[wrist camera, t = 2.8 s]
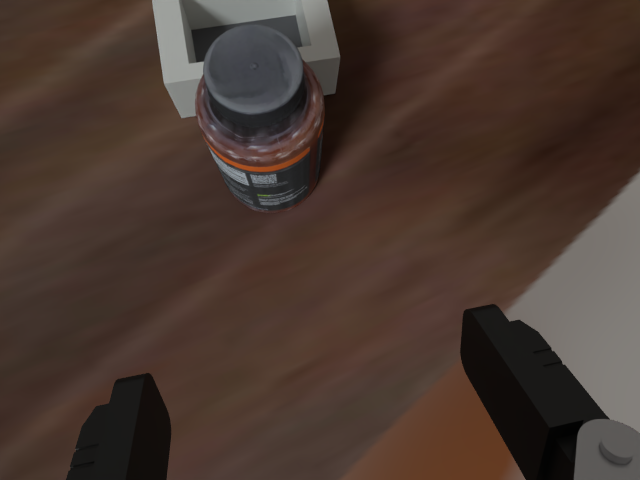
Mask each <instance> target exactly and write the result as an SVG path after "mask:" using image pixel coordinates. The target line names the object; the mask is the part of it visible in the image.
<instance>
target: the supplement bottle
mask: <svg viewBox="0 0 640 480" xmlns="http://www.w3.org/2000/svg"><path fill="white" fill-rule="evenodd" d="M195 96H196V98H195V112H196V118H197V121H198V125H199V128H200V130H201V132H202V134H203V136H204V139H205V141H206V143H207V145H208V147H209V149H210V151H211V153H212V155H213V157H214V160H215V162H216V164H217V166H218V168H219V170H220V172H221V174H222V176H223V178H224V180H225V183H226V185H227V187H228V188H229V190H230V191H231V192H232V194H233V195H234V196H235V198H236V199H237V200H238V201H239V202H241V203H242V204H244V205H245V206H247V207H248V208H250V209H253V210H255V211H260V212H264V213H279V212H283V211H287V210H290V209H292V208H294V207H296V206H298V205H299V204H301V203H302V202H303V201H304V200H305V199H306V198H307V197H308V196H309V195H310V194H311V192H312V191H313V189H314V187H315V185H316V183H317V180H318V176H319V171H320V162H321V151H322V139H323V129H324V115H325V103H324V95H323V91H322V87H321V85H320V82H319V80H318V78H317V76H316V74H315V73H314V71H313V70H312V69H311V68H310V66H309V65H308V64H307V63H306V62H305V61H304V60H303V59H302V57H301V54H300V52H299V50H298V48H297V47H296V45H295V44H294V43H293V41H292V40H291V39H290V38H289V37H288V36H287V35H285V34H284V33H282V32H281V31H279V30H277V29H275V28H273V27H270V26H266V25H260V24H247V25H241V26H237V27H234V28H232V29H230V30H228V31H226V32H225V33H223V34H221V35H220V36H219V37H218V38H217V39H216V40H215V41H214V42H213V43H212V45H211V46H210V48H209V50H208V52H207V53H206V56H205V59H204V65H203V75H202V77H201V79H200V82H199V84H198V87H197V92H196V95H195Z"/></svg>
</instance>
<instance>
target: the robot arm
mask: <svg viewBox="0 0 640 480" xmlns="http://www.w3.org/2000/svg"><path fill="white" fill-rule="evenodd" d="M460 353H461V360H462V364H463V367H464V370H465V372H466V374H467V376H468V378H469V380H470V382H471V383H472V385H473V387H474V389H475V390H476V392H477V394H478V396H479V398H480V399H481V401H482V403H483V405H484V407H485V408H486V410H487V412H488V413H489V415H490V417H491V419H492V420H493V422H494V424H495V426H496V428H497V429H498V431H499V433H500V435H501V437H502V438H503V440H504V442H505V444H506V445H507V447H508V449H509V451H510V452H511V454H512V456H513V458H514V460H515V461H516V463H517V465H518V467H519V468H520V470H521V472H522V474H523V476H524V477H525V479H526V480H640V433H639V432H637V431H636V430H634V429H633V428H631V427H630V426H627V425H625V424H623V423H620V422H617V421H614V420H610V419H609V418H608V417H607V416H606V415H605V413H604V412H603V411H602V410H601V409H600V407H599V406H598V405H597V404H596V403H595V401H594V400H593V399H592V398H591V396H590V395H589V394H588V393H587V391H586V390H585V389H584V388H583V386H582V385H581V384H580V383H579V382H578V380H577V379H576V378H575V377H574V376H573V374H572V373H571V372H570V370H569V369H568V368H567V367H566V366H565V365H563V364H562V361H561V359H560V358H559V357H558V356H557V354H556V353H555V352H554V351H552V350H551V347H550V346H549V345H548V344H547V342H546V341H545V340H544V339H543V337H542V336H541V335H540V334H539V332H537V331H536V330H534V329H533V328H531V327H530V326H528V325H527V324H525V323H524V322H522V321H520V320H516V321H511V322H509V320H508V319H507V318H506V316H505V315H504V314H503V312H502V311H501V310H500V309H499V307H498V306H497V305H495V304H491V305H486V306H481V307H476V308H471V309H466V310H465V311H464V313H463V323H462V336H461V349H460ZM170 442H171V423H170V417H169V414H168V411H167V408H166V406H165V404H164V402H163V399H162V397H161V395H160V393H159V390H158V388H157V386H156V384H155V381H154V379H153V377H152V375H151V374H150V373H146V374H141V375H136V376H131V377H126V378H121V379H117V380H116V381H115V383H114V386H113V390H112V394H111V398H110V402H109V404H105V405H100V406H96V407H95V409H94V410H93V412H92V413H91V415H90V416H89V417H88V419H87V420H86V422H85V423H84V424H83V426H82V428H81V431H80V435H79V438H78V441H77V445H76V448H75V449H76V452H75V453H74V455H73V458H72V462H71V465H70V468H71V470H70V471H69V472H68V475H67V478H66V480H166V478H167V469H168V460H169V451H170Z"/></svg>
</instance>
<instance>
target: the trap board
mask: <svg viewBox="0 0 640 480" xmlns="http://www.w3.org/2000/svg"><path fill="white" fill-rule="evenodd" d="M152 3H153V10H154V17H155V24H156V31H157V38H158V45H159V52H160V59H161V66H162V73H163V80H164V85H165V87H166V88H167V90H168V92H169V94H170V96H171V98H172V100H173V102H174V104H175V106H176V108H177V110H178V112H179V114H180V116H181V118H185V117H191V116H196V112H195V98H196V96H195V95H196V92H197V87H198V84H199V82H200V79H201V77H202V75H203V65H204V59H205V56H206V53H207V52H208V50H209V48H210V46H211V45H212V43H213V42H214V41H215V40H216V39H217V38H218V37H219V36H220V35H221V34H223V33H225V32H226V31H228V30H230V29H232V28H234V27H237V26H241V25H247V24H260V25H266V26H270V27H273V28H275V29H277V30H279V31H281V32H282V33H284V34H285V35H287V36H288V37H289V38H290V39H291V40H292V41H293V43H294V44H295V45H296V47H297V48H298V50H299V52H300V54H301V57H302V59H303V60H304V61H305V62H306V63H307V64H308V65H309V66H310V68H311V69H312V70H313V71H314V73H315V74H316V76H317V78H318V80H319V82H320V85H321V87H322V91H323V95H329V94H335V92H336V85H337V78H338V71H339V64H340V53H339V48H338V44H337V40H336V36H335V31H334V27H333V23H332V19H331V14H330V10H329V6H328V1H327V0H152Z"/></svg>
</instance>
